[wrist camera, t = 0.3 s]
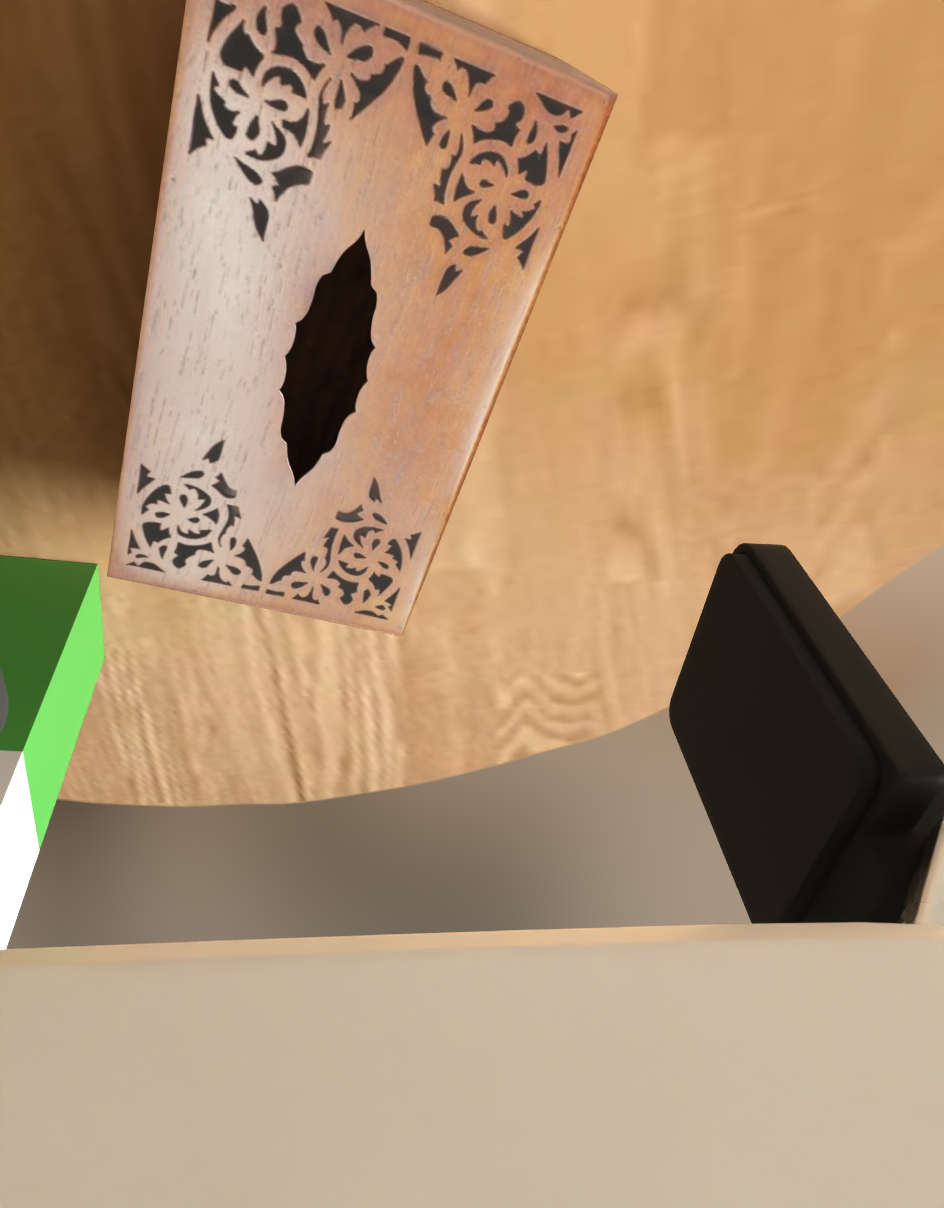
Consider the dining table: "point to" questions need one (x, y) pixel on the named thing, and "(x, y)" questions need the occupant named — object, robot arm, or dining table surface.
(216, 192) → the tissue box cover
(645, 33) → the dining table surface
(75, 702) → the hardback book
